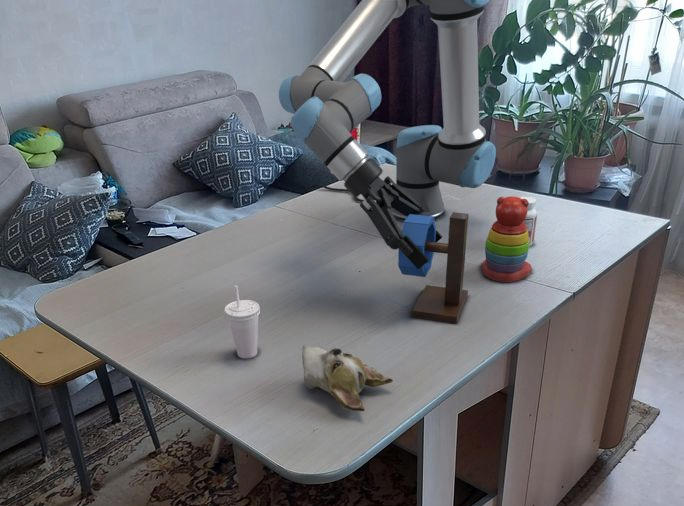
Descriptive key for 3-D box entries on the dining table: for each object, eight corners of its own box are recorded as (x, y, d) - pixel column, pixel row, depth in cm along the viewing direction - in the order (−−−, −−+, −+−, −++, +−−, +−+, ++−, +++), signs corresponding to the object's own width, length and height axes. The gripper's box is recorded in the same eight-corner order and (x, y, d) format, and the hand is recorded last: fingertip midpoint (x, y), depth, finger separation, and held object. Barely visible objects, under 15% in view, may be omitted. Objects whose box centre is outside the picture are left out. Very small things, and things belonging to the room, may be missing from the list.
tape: (397, 281, 128) (398, 228, 122) (412, 259, 137) (413, 208, 131) (421, 284, 127) (423, 230, 121) (434, 261, 135) (437, 210, 130)
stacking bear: (532, 267, 148) (543, 192, 139) (524, 286, 141) (534, 207, 131) (485, 261, 152) (493, 187, 143) (475, 278, 145) (481, 201, 135)
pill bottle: (518, 236, 164) (523, 193, 158) (538, 242, 160) (544, 199, 154) (502, 242, 161) (507, 199, 155) (522, 249, 157) (528, 205, 151)
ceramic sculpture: (320, 322, 112) (397, 350, 105) (320, 363, 117) (393, 392, 110) (284, 351, 105) (363, 383, 98) (285, 393, 109) (361, 426, 103)
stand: (380, 312, 133) (380, 219, 122) (395, 287, 142) (397, 199, 132) (456, 323, 128) (463, 227, 117) (467, 296, 137) (475, 205, 127)
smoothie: (231, 345, 124) (222, 279, 116) (264, 343, 124) (257, 276, 117) (229, 363, 118) (219, 295, 111) (264, 361, 119) (257, 292, 111)
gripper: (362, 165, 137) (430, 241, 140) (321, 201, 118) (401, 288, 122) (386, 141, 132) (456, 220, 136) (348, 175, 114) (430, 266, 117)
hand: (430, 252), depth 129 cm, fingers closed on tape, 11 cm apart
